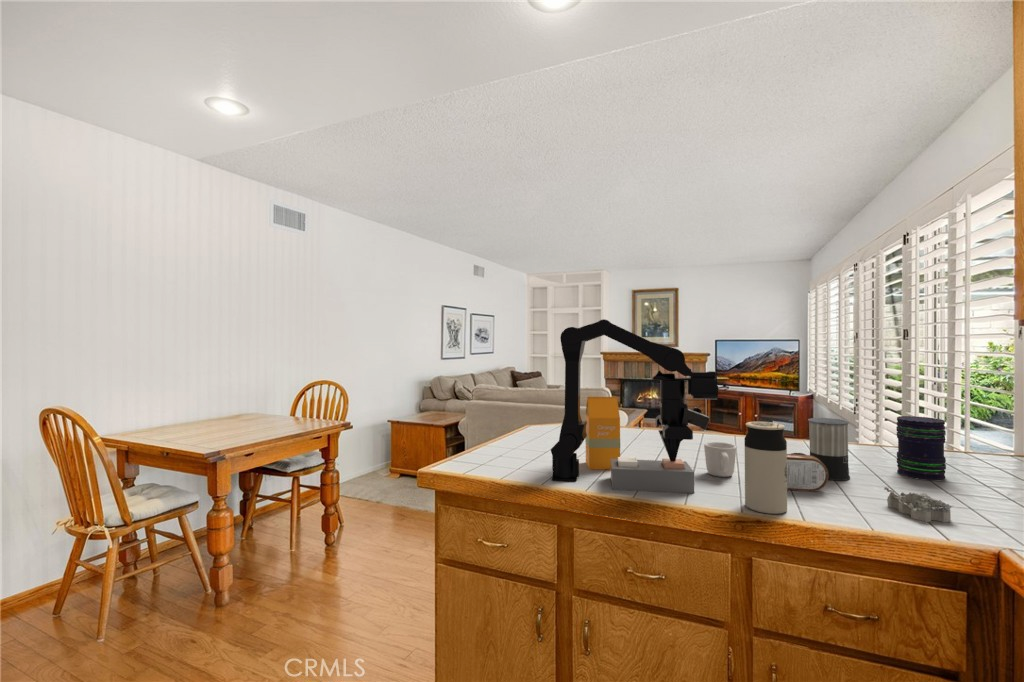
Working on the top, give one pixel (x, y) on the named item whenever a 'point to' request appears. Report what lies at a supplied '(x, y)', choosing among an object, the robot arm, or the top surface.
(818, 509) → the top surface
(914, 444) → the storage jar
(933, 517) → the egg carton
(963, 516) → the top surface
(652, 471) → the key console
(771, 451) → the travel mug
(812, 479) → the tin
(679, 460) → the terracotta key
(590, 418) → the orange juice
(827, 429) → the milk frother
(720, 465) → the cup
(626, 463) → the cream key
